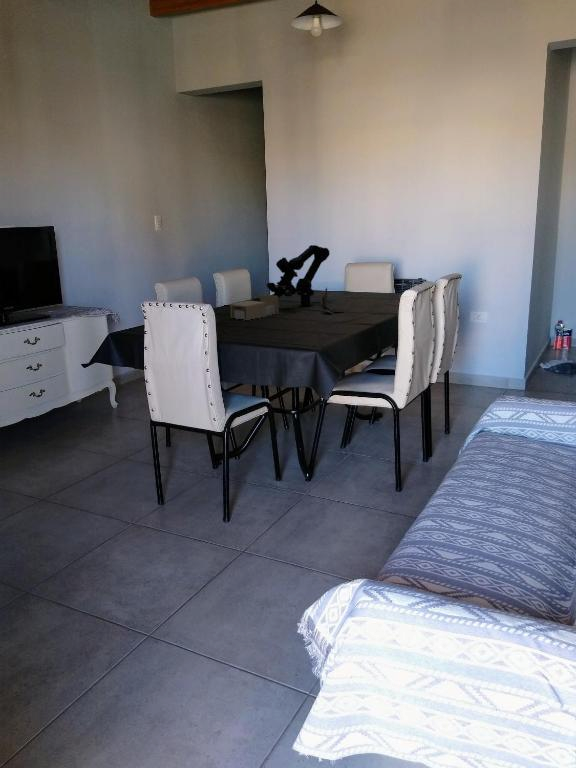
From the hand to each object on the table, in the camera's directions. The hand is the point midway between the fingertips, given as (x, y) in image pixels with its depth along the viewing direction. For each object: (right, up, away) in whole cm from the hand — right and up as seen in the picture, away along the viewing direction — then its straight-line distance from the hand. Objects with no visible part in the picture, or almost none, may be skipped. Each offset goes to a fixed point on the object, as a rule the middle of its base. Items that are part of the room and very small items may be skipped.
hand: (274, 300), depth 351 cm
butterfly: (+31, -8, -6) cm, 33 cm away
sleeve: (-14, -11, -13) cm, 22 cm away
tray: (-10, -10, -9) cm, 17 cm away
